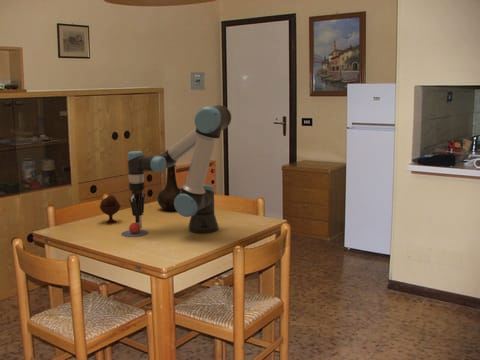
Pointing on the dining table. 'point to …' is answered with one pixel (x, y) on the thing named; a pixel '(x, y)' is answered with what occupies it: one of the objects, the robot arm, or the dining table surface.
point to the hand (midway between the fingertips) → (138, 228)
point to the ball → (134, 228)
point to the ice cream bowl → (110, 207)
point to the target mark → (129, 234)
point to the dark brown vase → (169, 191)
